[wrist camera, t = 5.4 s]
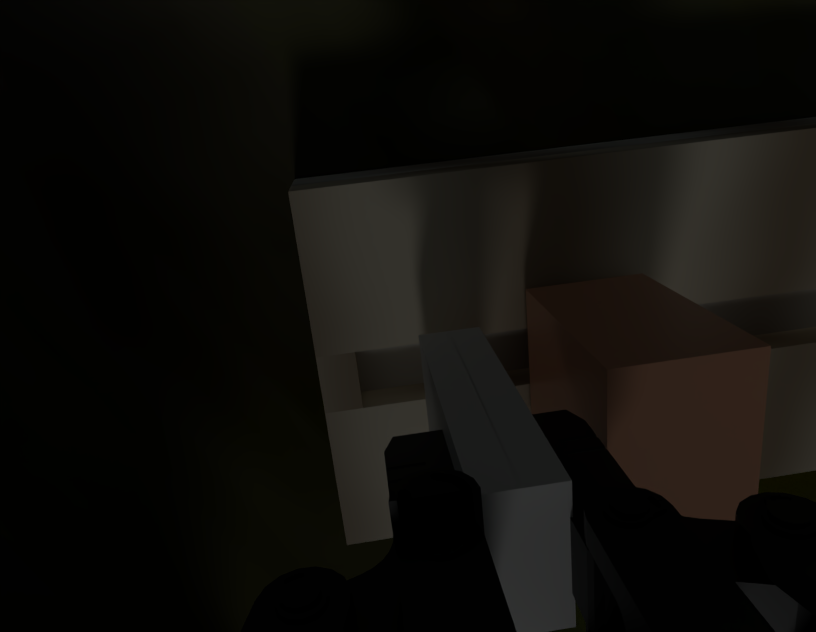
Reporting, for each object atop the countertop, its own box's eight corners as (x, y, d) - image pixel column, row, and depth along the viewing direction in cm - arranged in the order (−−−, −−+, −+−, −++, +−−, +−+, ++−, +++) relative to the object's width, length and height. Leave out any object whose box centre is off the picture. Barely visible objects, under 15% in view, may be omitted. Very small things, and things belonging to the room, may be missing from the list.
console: (345, 493, 20) (346, 546, 18) (294, 178, 17) (288, 191, 15) (1035, 387, 22) (1121, 422, 20) (1110, 81, 19) (1224, 78, 16)
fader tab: (519, 410, 18) (607, 557, 12) (512, 276, 17) (606, 369, 11) (621, 395, 18) (754, 532, 13) (622, 261, 17) (771, 345, 11)
